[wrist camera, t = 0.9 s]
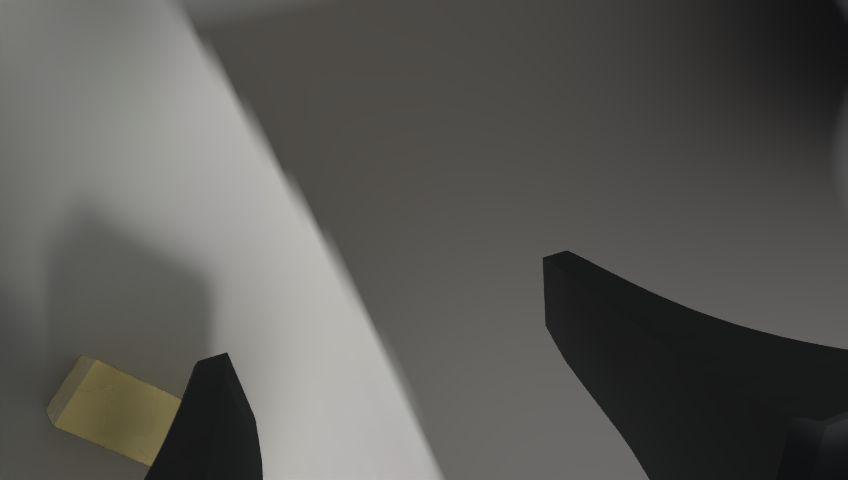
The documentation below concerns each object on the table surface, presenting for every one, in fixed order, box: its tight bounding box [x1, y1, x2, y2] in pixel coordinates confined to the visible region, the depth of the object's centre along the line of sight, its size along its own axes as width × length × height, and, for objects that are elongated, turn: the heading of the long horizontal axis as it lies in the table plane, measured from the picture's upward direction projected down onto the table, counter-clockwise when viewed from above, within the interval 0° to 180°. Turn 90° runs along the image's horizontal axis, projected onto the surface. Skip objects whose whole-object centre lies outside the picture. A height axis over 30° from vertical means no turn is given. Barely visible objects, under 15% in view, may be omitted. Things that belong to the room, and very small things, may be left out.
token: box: [46, 355, 181, 467], centre depth 20 cm, size 2×5×4 cm, turn 62°
